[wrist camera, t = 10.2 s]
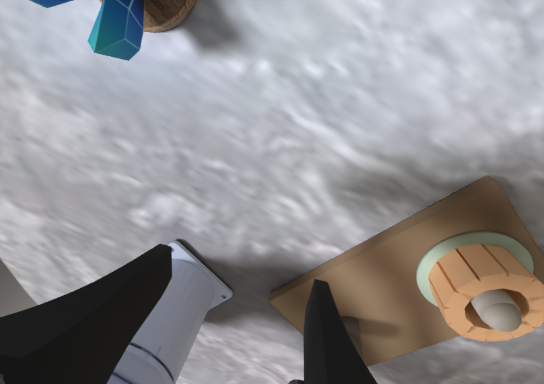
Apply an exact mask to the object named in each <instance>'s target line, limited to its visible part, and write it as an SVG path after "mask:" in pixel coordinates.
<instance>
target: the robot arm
mask: <svg viewBox="0 0 544 384" xmlns="http://www.w3.org/2000/svg"><path fill="white" fill-rule="evenodd" d="M172 248H173V249H172ZM224 295H225V296H224ZM232 295H233V292H232V290H231V289H229V288H228V287H227V286H226V285H225V284H224V283H223V282H222V281H221V280H220V279H219V278H218V277H216V276H215V275H214V274H213V273H212V272H211V271H210V270H209V269H208V268H207V267H206V266H205V265H203V264H202V263H201V262H200V261H199V260H198V259H197V258H196V257H195V256H194V255H193V254H192V253H190V252H189V251H188V250H187V249H186V248H185V247H184V246H183V245H182V244H181V243H180V242H178V241H172V242H171V243H170V244H168V245H163V244H159V245H157V246H155V247H154V248H152V249H151V250H149V251H147V252H146V253H144V254H142V255H141V256H139V257H137V258H136V259H134V260H133V261H131V262H129V263H127V264H126V265H124V266H122V267H121V268H119V269H117V270H115V271H113V272H112V273H110V274H108V275H106V276H104V277H102V278H100V279H99V280H97V281H95V282H93V283H90V284H88V285H86V286H84V287H82V288H80V289H78V290H75V291H73V292H71V293H68V294H66V295H63V296H61V297H58V298H56V299H53V300H51V301H48V302H46V303H43V304H40V305H37V306H35V307H32V308H29V309H26V310H23V311H20V312H17V313H13V314H10V315H7V316H4V317H0V384H175V383H176V381H177V379H178V377H179V374H180V372H181V370H182V368H183V365H184V363H185V361H186V359H187V356H188V354H189V352H190V350H191V347H192V345H193V343H194V341H195V338H196V336H197V334H198V332H199V329H200V327H201V325H202V323H203V321H204V318H205V316H206V314H207V312H208V311H209V310H210V309H212V308H214V307H216V306H217V305H219V304H221V303H222V302H224V301H226V300H228V299H229V298H231V297H232ZM304 384H377V382H376V381H375V379H374V378H373V376H372V375H371V373H370V371H369V370H368V368H367V367H366V365H365V363H364V362H363V360H362V358H361V356H360V355H359V353H358V351H357V349H356V347H355V345H354V344H353V342H352V340H351V338H350V336H349V334H348V332H347V329H346V327H345V325H344V323H343V321H342V318H341V316H340V314H339V311H338V309H337V306H336V304H335V301H334V298H333V296H332V293H331V290H330V286H329V284H328V282H326V281H322V280H317V279H314V282H313V286H312V289H311V292H310V296H309V299H308V302H307V306H306V311H305V321H304Z"/></svg>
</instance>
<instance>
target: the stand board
mask: <svg viewBox="0 0 544 384" xmlns="http://www.w3.org/2000/svg"><path fill="white" fill-rule="evenodd" d="M479 243H480V244H481V245H482V244H483V243H484V244H488V245H493V246H498V247H503V248H505V249H507V250H508V251H509V252H510V253H511V254H512V255H513V256H515V257H516V258H517V259H518V260H519V261H520V262H521V263H522V264H523V265H524V266H525V267H526V268H527V269H528V270H529V271H530V272H531V273H532V274H533V275H534V276H535V277H536V278H537V279H538V280H539V281H540V282H541V283H542V284H543V285H544V256H543V255H542V253H541V251H540V250H539V248H538V247H537V245H536V243H535V242H534V240H533V239H532V237H531V235H530V234H529V232H528V231H527V229H526V227H525V226H524V224H523V223H522V221H521V219H520V218H519V216H518V215H517V213H516V212H515V210H514V208H513V207H512V205H511V204H510V202H509V200H508V199H507V197H506V196H505V194H504V192H503V191H502V189H501V188H500V186H499V184H498V183H497V182H496V181H494V180H493V179H491V178H490V177H488V176H485V177H483V178H481V179H479V180H477V181H475V182H474V183H472V184H470V185H468V186H466V187H464V188H463V189H461V190H459V191H457V192H455V193H453V194H451V195H450V196H448V197H446V198H444V199H442V200H440V201H438V202H437V203H435V204H433V205H431V206H429V207H427V208H426V209H424V210H422V211H420V212H418V213H416V214H414V215H413V216H411V217H409V218H407V219H405V220H403V221H402V222H400V223H398V224H396V225H394V226H392V227H390V228H389V229H387V230H385V231H383V232H381V233H379V234H378V235H376V236H374V237H372V238H370V239H368V240H366V241H365V242H363V243H361V244H359V245H357V246H355V247H353V248H352V249H350V250H348V251H346V252H344V253H342V254H341V255H339V256H337V257H335V258H333V259H331V260H329V261H328V262H326V263H324V264H322V265H320V266H318V267H317V268H315V269H313V270H311V271H309V272H307V273H305V274H304V275H302V276H300V277H298V278H296V279H294V280H293V281H291V282H289V283H287V284H285V285H283V286H281V287H280V288H278V289H276V290H274V291H272V292H271V294H270V298H269V303H270V304H271V305H272V306H273V307H275V308H276V309H277V310H278V311H279V312H280V313H281V314H282V315H283V316H284V317H285V318H286V319H287V320H288V321H289V322H290V323H291V324H292V325H293V326H294V327H296V328H297V329H298V330H299V331H300V332H301V333H302V334H303V335H304V321H305V311H306V306H307V302H308V299H309V296H310V292H311V289H312V286H313V282H314V279H317V280H322V281H326V282H328V284H329V286H330V290H331V293H332V296H333V298H334V301H335V304H336V306H337V309H338V311H339V314H340V316H341V318H342V321H343V323H344V325H345V327H346V329H347V332H348V334H349V336H350V338H351V340H352V342H353V344H354V345H355V347H356V349H357V351H358V353H359V355H360V356H361V358H362V360H363V362H364V363H365V365H366V367H367V366H370V365H373V364H376V363H379V362H382V361H385V360H388V359H391V358H394V357H397V356H400V355H403V354H406V353H409V352H412V351H415V350H418V349H421V348H424V347H427V346H430V345H434V344H437V343H440V342H443V341H446V340H449V339H452V338H455V337H458V336H461V335H460V334H458V333H457V332H456V331H455V330H453V329H452V328H451V327H450V326H448V324H447V323H446V321H445V319H444V317H443V315H442V313H441V311H440V309H439V307H438V305H437V303H436V301H435V299H434V297H433V295H432V292H431V290H430V286H429V281H428V277H429V276H428V274H429V273H430V271H431V269H432V267H433V265H434V264H435V262H436V261H437V262H439V261H438V259H439V258H441V257H442V256H444V255H445V254H447V253H449V252H450V251H452V250H453V249H456V250H457V251H458V247H463V246H468V245H474V244H479ZM470 302H471V304H472V305H473V307H474V308H475V310H476V312H477V313H478V315H479V316H480V318H481V319H482V321H483V322H484V323H486V324H488V325H489V326H490V327H492V328H494V329H496V330H498V331H502V332H511V331H514V330H516V329H518V328H519V326H520V325H521V322H522V316H521V310H520V308H519V307H518V305H517V304H516V303H515V302H514V301H513V299H512V298H511V297H510V296H509V295H508V293H507V292H506V291H505V290H504V289H503V288H502V289H495V290H488V291H484V292H483V293H481V294H479V295H477V296H475V297H473V298H471V300H470Z"/></svg>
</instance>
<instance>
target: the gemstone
mask: <svg viewBox="0 0 544 384" xmlns="http://www.w3.org/2000/svg"><path fill="white" fill-rule="evenodd" d="M30 1H32V2H34V3H37V4H39V5H41V6H43V7H46V8H49V7H53V6H56V5H59V4H63V3H66V2H69V1H73V0H30ZM195 1H196V0H100V2H101V3H102V6H101V8H100V11H99V13H98V16H97V18H96V21H95V24H94V26H93V29H92V31H91V34H90V36H89V39H88V42H89V44H90V46H91V48H92V50H93V52H94V53H98V54H102V55H107V56H111V57H115V58H120V59H124V60H128V61H129V60H130V59H131V58H132V57H133V56H134V55H135V54H136V53H137V52H138V51H139V50H140V47H141V41H142V36H143V31H144V32H151V33H156V32H163V31H167V30H169V29H172V28H174V27H175V26H177V25H178V24H179V23H181V22H182V21H183V20H184V19H185V18H186V16H187V15H188V14H189V12H190V11H191V9H192V7H193V5H194V3H195Z"/></svg>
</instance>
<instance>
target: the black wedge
mask: <svg viewBox="0 0 544 384" xmlns="http://www.w3.org/2000/svg"><path fill="white" fill-rule="evenodd" d="M289 384H304V381H301V380H292V381H290V382H289Z"/></svg>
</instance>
